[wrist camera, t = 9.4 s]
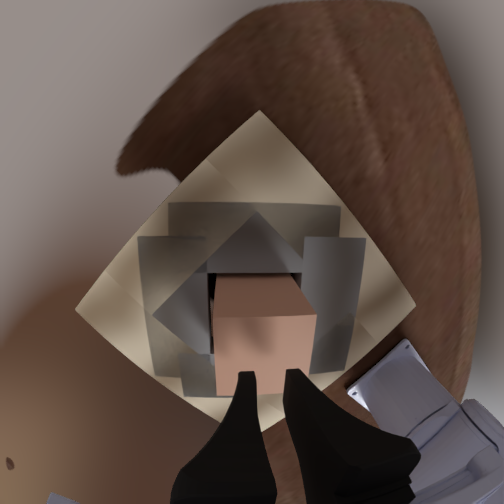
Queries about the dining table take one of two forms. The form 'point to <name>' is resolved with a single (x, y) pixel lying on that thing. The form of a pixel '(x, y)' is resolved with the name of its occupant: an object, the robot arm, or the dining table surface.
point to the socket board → (245, 268)
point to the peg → (260, 330)
